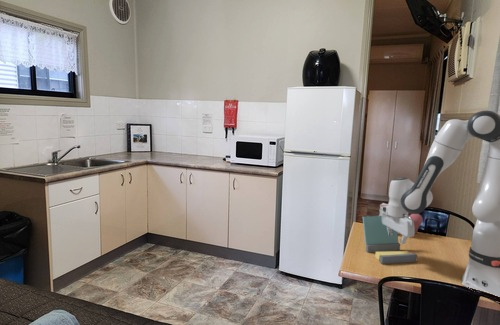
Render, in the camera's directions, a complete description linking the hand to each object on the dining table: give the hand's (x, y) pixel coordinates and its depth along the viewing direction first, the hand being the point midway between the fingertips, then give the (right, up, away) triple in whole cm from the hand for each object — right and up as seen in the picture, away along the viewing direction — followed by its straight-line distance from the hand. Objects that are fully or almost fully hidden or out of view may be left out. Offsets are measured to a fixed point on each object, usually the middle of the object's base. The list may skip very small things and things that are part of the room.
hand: (396, 239), depth 154 cm
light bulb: (+26, -5, +35) cm, 44 cm away
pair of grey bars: (-1, -9, +4) cm, 10 cm away
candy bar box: (+11, -5, +35) cm, 37 cm away
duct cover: (-3, +2, +12) cm, 12 cm away
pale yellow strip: (-1, -10, +2) cm, 10 cm away
